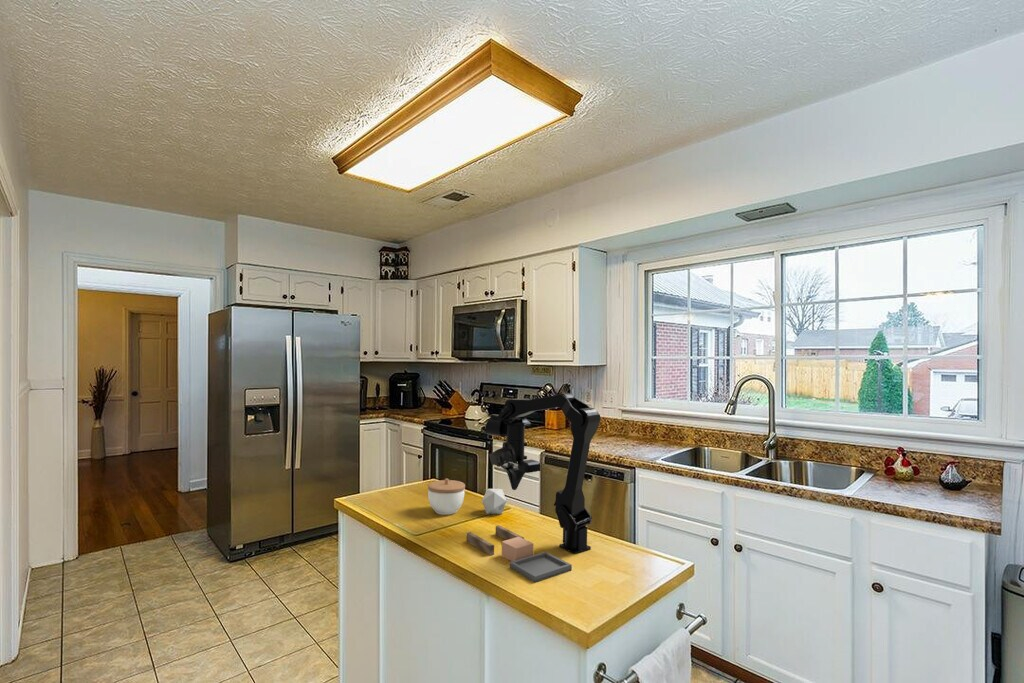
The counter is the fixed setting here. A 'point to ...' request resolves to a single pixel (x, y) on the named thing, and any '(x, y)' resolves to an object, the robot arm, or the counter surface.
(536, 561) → the tray
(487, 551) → the corridor rails
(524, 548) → the block
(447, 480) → the lidded bowl
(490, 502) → the die
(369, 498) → the counter surface
